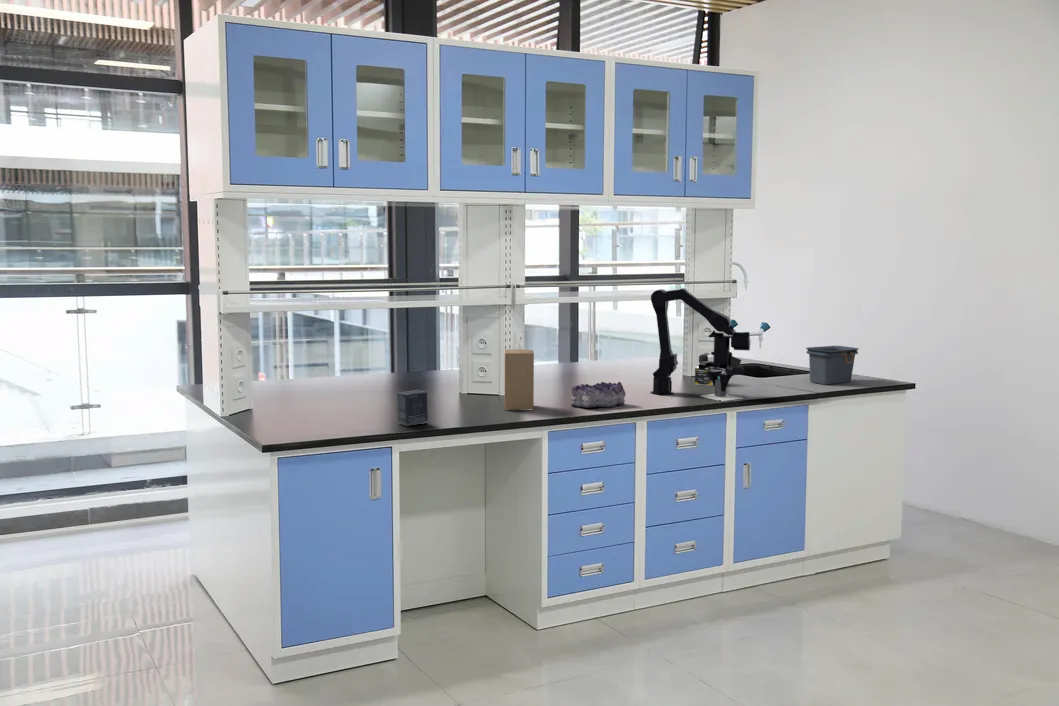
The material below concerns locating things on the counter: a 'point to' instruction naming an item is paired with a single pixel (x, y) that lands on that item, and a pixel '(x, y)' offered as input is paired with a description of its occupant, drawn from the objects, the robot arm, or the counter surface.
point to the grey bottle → (719, 388)
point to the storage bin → (831, 364)
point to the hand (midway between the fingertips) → (720, 390)
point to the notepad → (723, 397)
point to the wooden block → (519, 379)
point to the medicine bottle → (703, 372)
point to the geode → (598, 395)
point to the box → (412, 406)
